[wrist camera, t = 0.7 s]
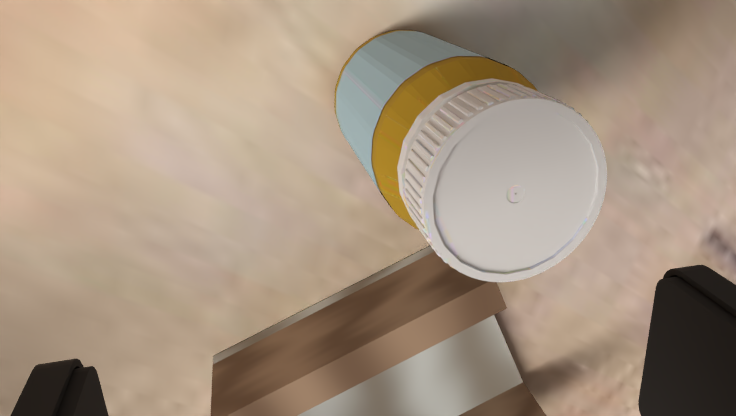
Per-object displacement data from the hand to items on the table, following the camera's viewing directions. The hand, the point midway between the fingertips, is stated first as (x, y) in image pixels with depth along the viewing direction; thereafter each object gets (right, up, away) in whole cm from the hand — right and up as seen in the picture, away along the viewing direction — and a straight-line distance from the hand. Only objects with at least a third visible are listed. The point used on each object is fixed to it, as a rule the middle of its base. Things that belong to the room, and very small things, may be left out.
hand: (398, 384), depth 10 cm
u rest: (0, -8, +29) cm, 30 cm away
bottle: (+1, +9, +23) cm, 24 cm away
